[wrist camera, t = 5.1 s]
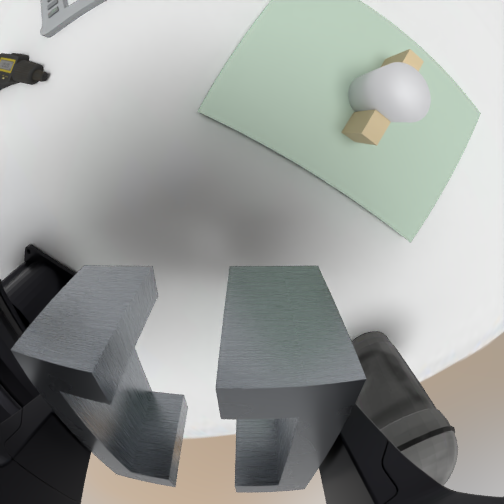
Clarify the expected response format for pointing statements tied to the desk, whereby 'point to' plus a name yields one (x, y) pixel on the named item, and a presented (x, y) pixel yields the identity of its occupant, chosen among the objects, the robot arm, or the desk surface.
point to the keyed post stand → (348, 105)
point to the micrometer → (19, 70)
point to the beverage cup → (404, 408)
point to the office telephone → (62, 13)
